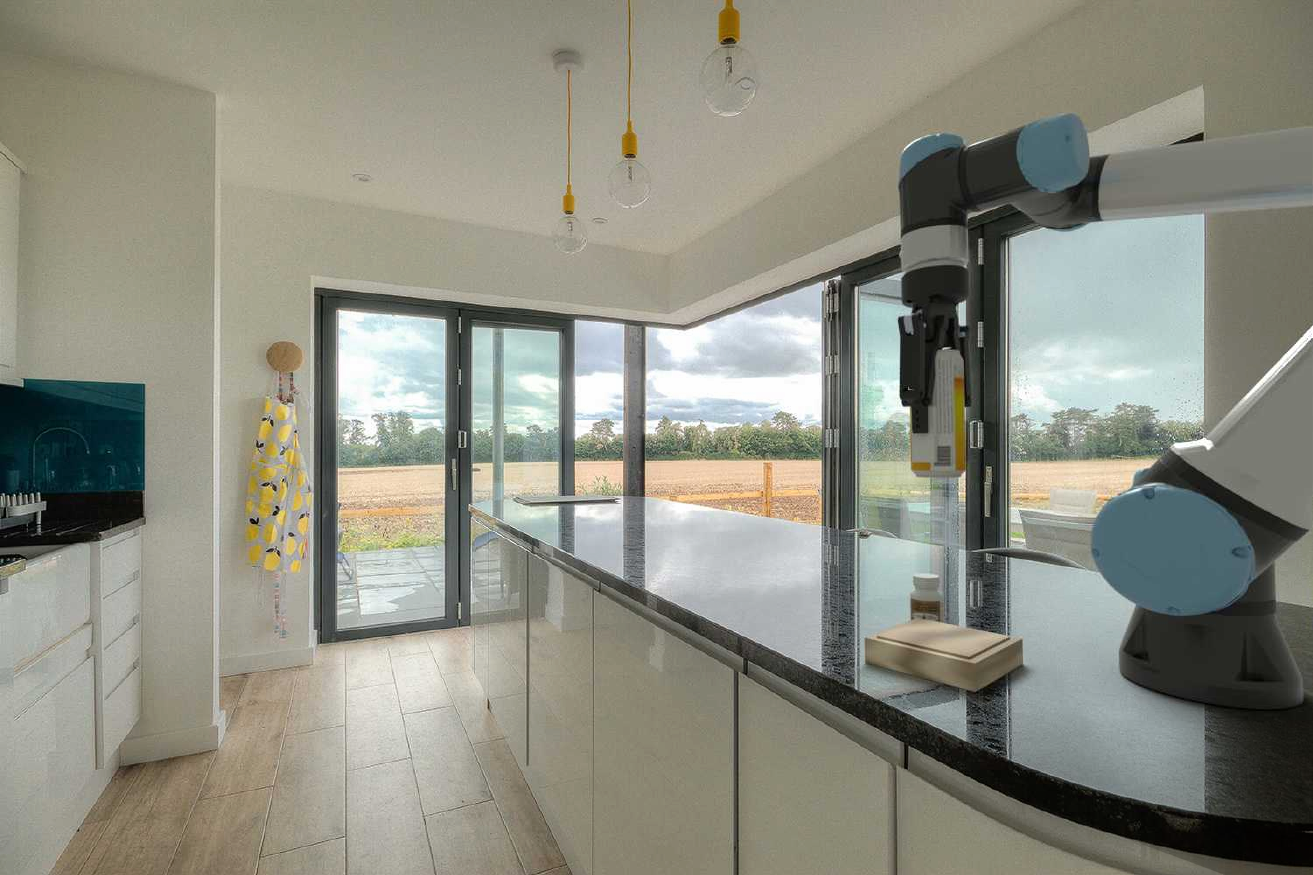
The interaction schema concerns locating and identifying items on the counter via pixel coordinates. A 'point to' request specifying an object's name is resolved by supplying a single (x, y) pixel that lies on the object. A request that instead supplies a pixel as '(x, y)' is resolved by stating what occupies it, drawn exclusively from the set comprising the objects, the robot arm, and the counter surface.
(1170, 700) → the counter surface
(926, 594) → the pill bottle
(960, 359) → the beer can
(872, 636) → the podium
